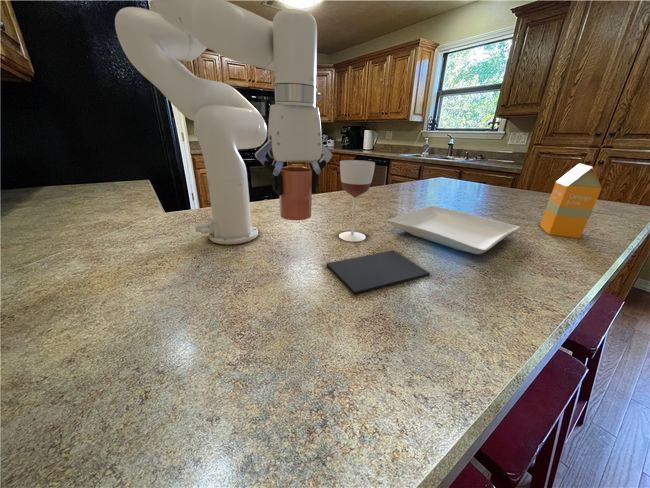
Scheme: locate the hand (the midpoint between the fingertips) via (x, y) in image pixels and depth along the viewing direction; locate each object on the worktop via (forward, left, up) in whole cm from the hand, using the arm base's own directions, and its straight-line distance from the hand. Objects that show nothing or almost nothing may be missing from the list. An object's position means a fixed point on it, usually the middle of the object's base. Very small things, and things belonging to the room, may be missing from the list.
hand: (295, 192), depth 57 cm
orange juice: (+80, -14, -15) cm, 83 cm away
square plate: (+46, -3, -15) cm, 49 cm away
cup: (0, 0, -5) cm, 5 cm away
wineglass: (+18, +6, -15) cm, 24 cm away
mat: (+13, -13, -15) cm, 24 cm away
